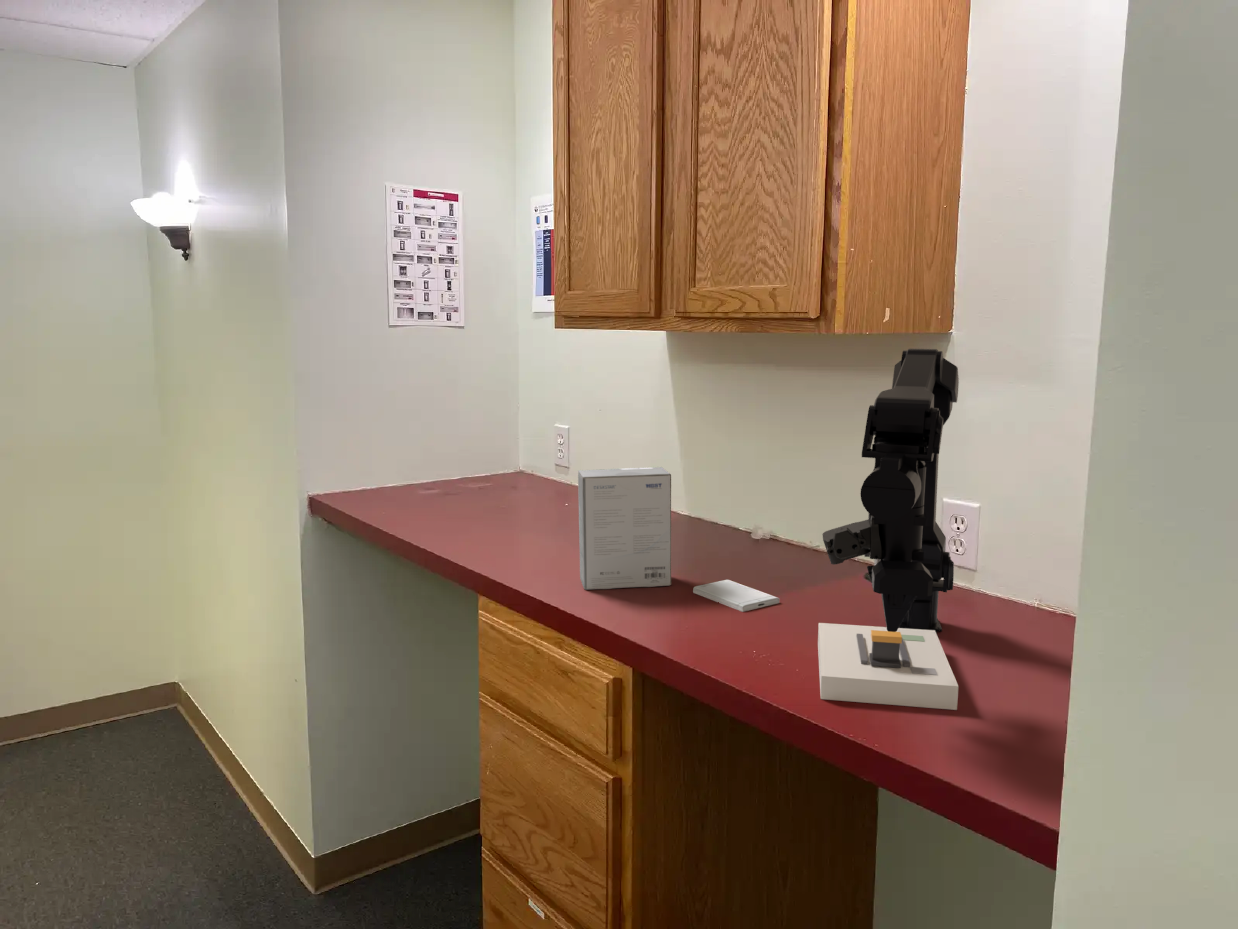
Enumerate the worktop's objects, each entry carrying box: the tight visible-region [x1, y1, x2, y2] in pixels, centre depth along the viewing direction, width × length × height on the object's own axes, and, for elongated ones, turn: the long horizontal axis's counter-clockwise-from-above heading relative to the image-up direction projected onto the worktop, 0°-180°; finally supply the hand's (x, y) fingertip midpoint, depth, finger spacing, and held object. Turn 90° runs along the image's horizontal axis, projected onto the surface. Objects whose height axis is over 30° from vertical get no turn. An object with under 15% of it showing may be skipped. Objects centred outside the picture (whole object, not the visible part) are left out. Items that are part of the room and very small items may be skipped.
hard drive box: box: [577, 466, 672, 591], centre depth 161 cm, size 16×8×20 cm, turn 99°
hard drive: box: [692, 579, 780, 613], centre depth 154 cm, size 2×8×12 cm
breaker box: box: [817, 622, 959, 711], centre depth 121 cm, size 20×16×4 cm
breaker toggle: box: [869, 630, 902, 668], centre depth 117 cm, size 3×4×4 cm
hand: (891, 630), depth 111 cm, fingers closed
